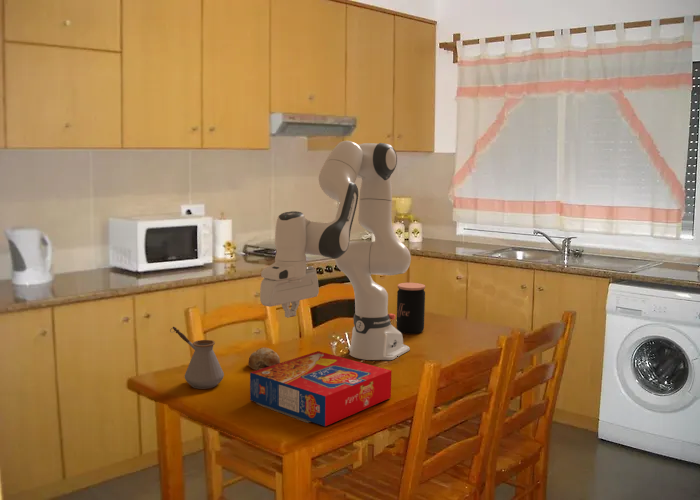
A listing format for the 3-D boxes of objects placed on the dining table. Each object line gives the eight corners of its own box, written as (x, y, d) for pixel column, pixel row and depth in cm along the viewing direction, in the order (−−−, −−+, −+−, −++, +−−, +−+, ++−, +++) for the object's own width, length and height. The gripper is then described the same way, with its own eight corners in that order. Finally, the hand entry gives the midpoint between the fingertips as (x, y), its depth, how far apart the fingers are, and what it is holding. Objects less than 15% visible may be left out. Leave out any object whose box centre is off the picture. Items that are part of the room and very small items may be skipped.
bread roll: (249, 381, 228) (251, 362, 223) (246, 359, 236) (247, 341, 232) (280, 379, 230) (282, 360, 226) (275, 357, 238) (277, 339, 234)
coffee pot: (232, 384, 214) (231, 335, 211) (200, 394, 205) (199, 343, 203) (188, 368, 228) (187, 322, 225) (157, 377, 219) (156, 329, 217)
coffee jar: (392, 328, 281) (393, 283, 279) (417, 326, 284) (418, 282, 282) (402, 335, 271) (403, 288, 269) (428, 333, 274) (429, 287, 272)
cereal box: (318, 351, 220) (391, 370, 202) (317, 376, 221) (390, 397, 204) (250, 372, 199) (325, 396, 181) (250, 400, 200) (325, 426, 182)
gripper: (308, 263, 214) (308, 308, 216) (256, 272, 198) (256, 320, 200) (323, 266, 210) (323, 312, 212) (272, 275, 194) (272, 324, 196)
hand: (290, 316), depth 206 cm, fingers closed
